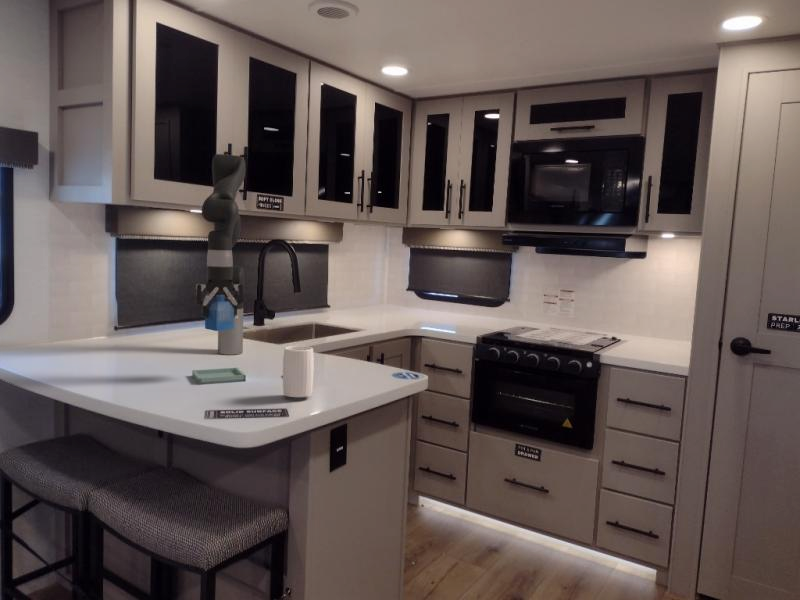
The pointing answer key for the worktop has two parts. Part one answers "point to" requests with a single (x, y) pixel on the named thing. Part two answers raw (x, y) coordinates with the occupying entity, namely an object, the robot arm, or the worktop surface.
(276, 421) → the worktop surface
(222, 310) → the perfume bottle
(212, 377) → the tray
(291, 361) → the cup
